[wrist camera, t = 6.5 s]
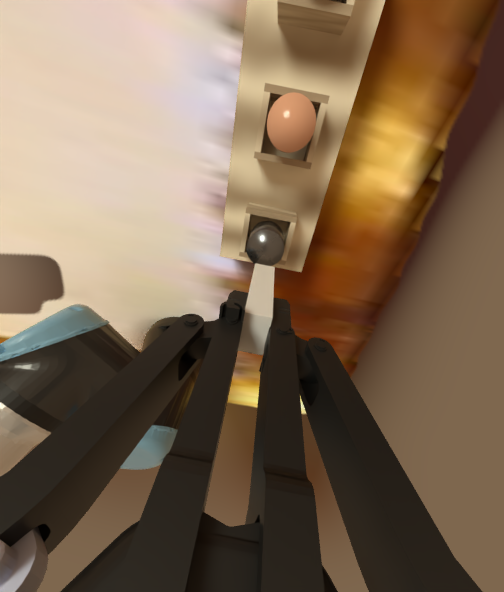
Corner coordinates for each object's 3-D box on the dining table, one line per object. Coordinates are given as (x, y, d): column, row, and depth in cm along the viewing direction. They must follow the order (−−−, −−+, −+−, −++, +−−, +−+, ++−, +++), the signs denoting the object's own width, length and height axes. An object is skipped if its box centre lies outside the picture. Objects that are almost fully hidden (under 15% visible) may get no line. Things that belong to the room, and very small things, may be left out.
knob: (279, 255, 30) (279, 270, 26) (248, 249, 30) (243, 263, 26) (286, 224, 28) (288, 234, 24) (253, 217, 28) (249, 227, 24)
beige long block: (298, 257, 40) (303, 283, 31) (227, 243, 39) (214, 265, 31) (386, -47, 23) (446, -159, 15) (266, -72, 23) (259, -198, 15)
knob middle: (303, 156, 24) (307, 156, 21) (265, 148, 24) (262, 147, 21) (315, 107, 22) (322, 97, 18) (273, 99, 22) (272, 87, 18)
